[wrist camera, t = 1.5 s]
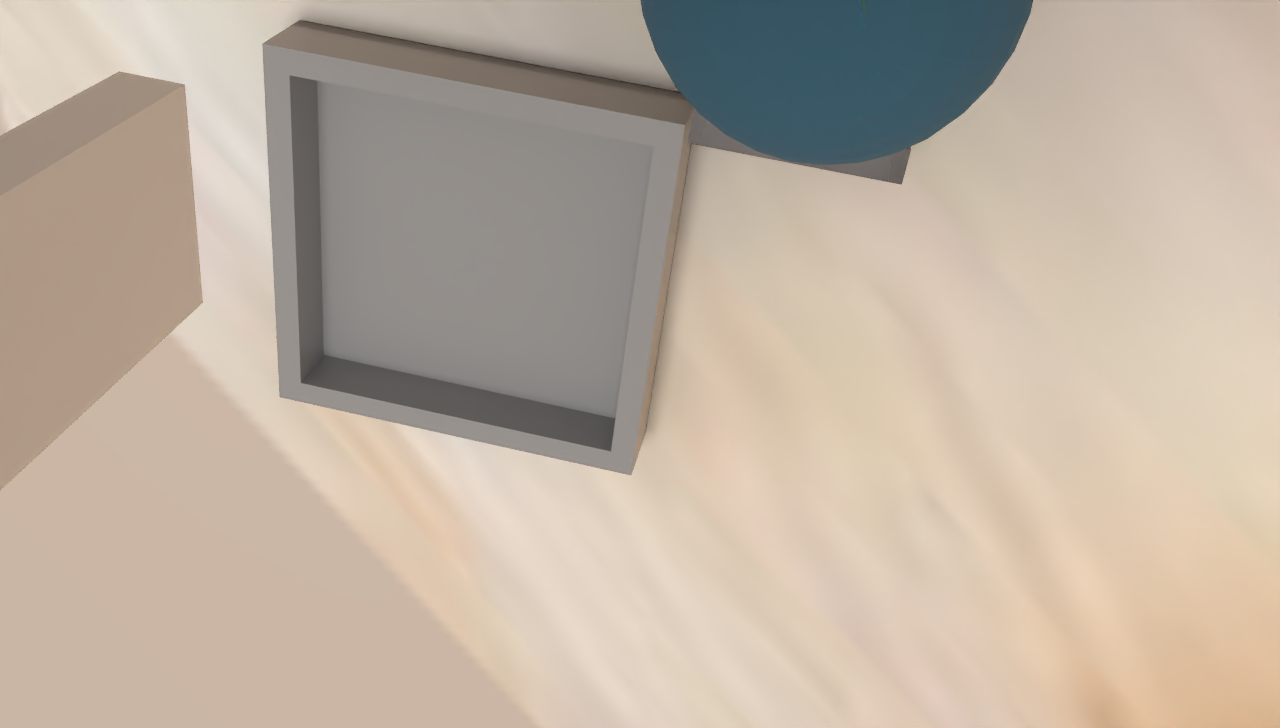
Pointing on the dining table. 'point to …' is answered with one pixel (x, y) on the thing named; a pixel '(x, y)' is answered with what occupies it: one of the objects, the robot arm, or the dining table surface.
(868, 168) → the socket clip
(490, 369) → the parts tray
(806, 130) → the light bulb
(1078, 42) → the dining table surface
